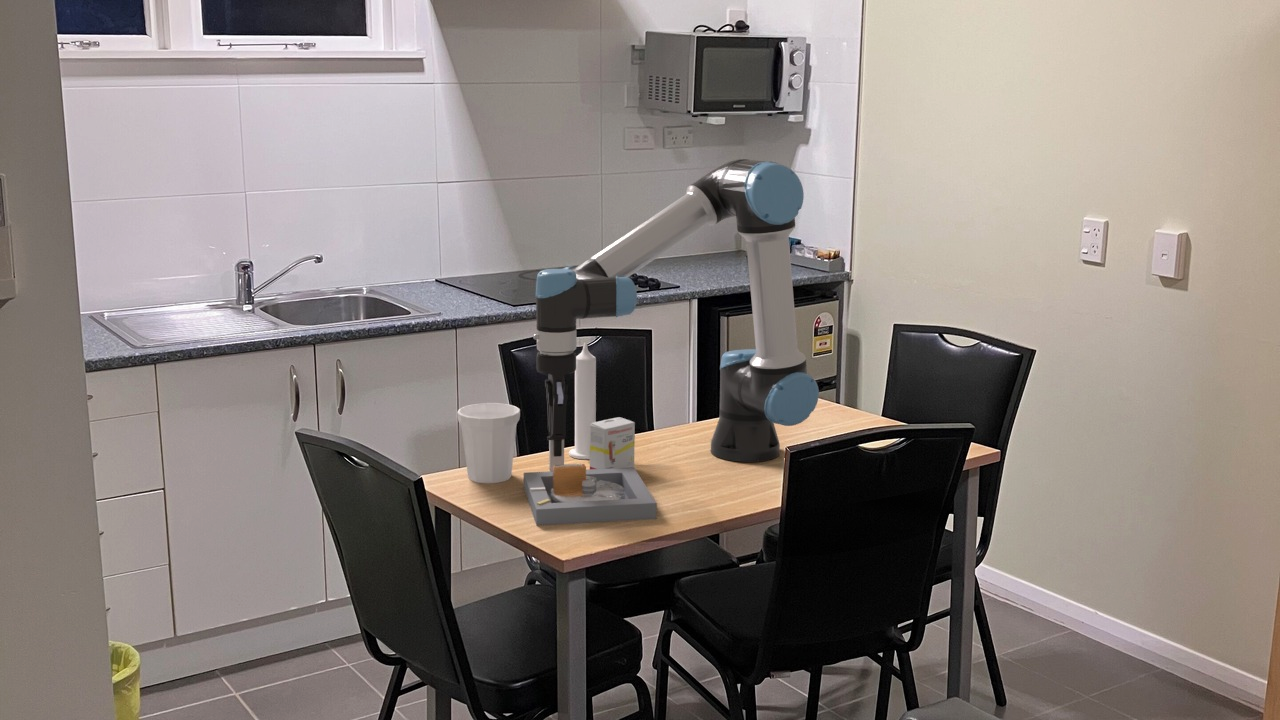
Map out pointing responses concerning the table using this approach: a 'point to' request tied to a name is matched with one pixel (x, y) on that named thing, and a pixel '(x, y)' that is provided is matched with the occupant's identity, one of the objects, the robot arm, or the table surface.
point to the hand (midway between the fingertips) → (556, 470)
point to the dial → (581, 486)
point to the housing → (631, 508)
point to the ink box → (612, 444)
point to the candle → (584, 402)
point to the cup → (489, 440)
